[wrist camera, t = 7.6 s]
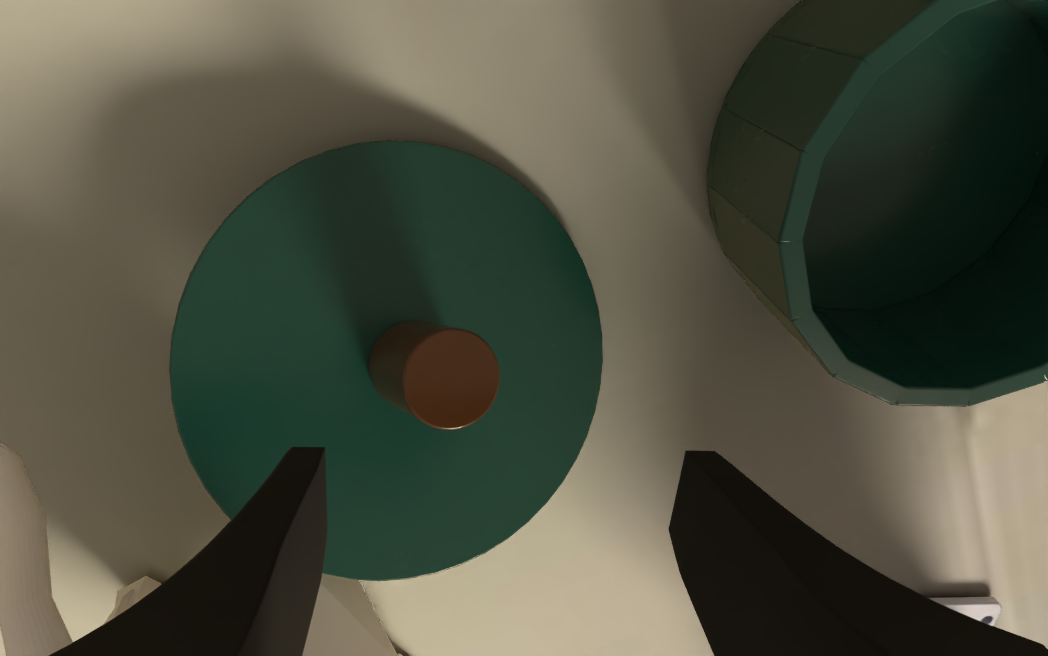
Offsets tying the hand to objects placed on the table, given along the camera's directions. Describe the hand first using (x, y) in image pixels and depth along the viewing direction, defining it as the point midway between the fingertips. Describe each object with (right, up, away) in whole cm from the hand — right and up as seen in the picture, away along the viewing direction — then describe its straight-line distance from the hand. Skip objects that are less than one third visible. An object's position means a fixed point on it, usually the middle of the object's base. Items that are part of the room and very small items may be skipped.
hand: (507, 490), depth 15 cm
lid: (-3, +2, +6) cm, 7 cm away
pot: (+11, +8, +8) cm, 16 cm away
